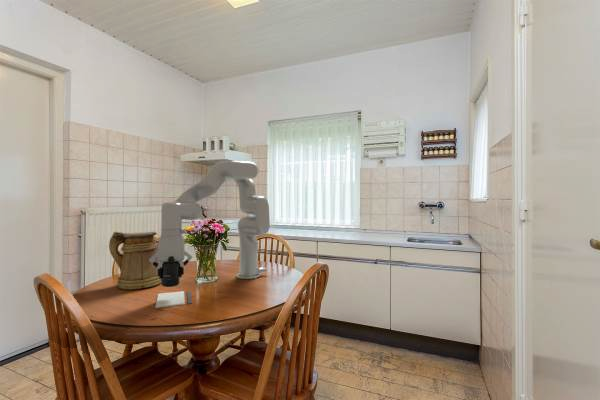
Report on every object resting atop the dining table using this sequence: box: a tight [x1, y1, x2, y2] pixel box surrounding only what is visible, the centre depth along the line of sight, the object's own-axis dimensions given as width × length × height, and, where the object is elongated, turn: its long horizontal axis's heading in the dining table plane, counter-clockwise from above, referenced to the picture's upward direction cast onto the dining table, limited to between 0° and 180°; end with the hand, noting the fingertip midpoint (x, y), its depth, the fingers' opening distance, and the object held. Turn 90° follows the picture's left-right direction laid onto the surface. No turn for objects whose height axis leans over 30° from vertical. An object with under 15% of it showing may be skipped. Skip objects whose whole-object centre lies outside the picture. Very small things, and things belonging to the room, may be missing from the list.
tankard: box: [108, 231, 161, 290], centre depth 139 cm, size 18×24×25 cm
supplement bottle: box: [160, 256, 181, 288], centre depth 119 cm, size 7×7×12 cm
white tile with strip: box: [155, 290, 193, 309], centre depth 119 cm, size 13×16×1 cm
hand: (170, 277), depth 119 cm, fingers closed on supplement bottle, 6 cm apart
